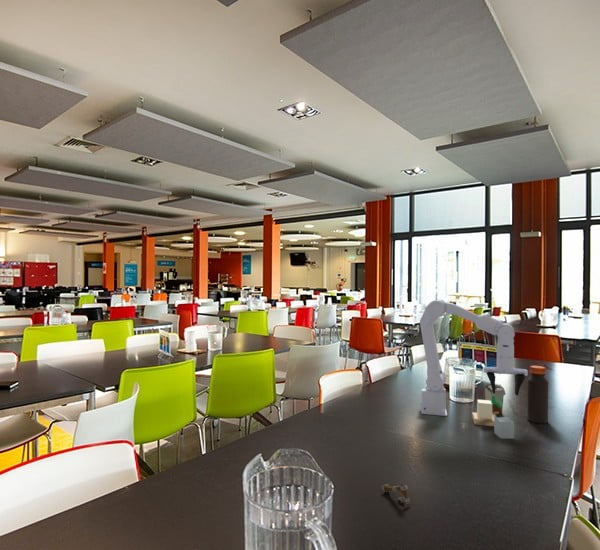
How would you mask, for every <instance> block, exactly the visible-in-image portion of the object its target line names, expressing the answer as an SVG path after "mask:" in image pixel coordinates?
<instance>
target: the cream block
mask: <svg viewBox="0 0 600 550" xmlns="http://www.w3.org/2000/svg"><path fill="white" fill-rule="evenodd" d="M476 413H477V415H478V417H479V418H484V419H492V403H491V401H490V400H485V399H476Z"/></svg>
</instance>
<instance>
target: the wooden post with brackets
mask: <svg viewBox="0 0 600 550" xmlns="http://www.w3.org/2000/svg"><path fill="white" fill-rule="evenodd" d="M381 489H382V492H383V491H384V492H389V491H390V492H401V494H402V495H403V496H402V497H400V496H399V497H397V500H398V499H399V500H400V501H401V502H400V503H402V502H403V503H406V506H410V505H411V502H410V498H409V496H408V492H407V490H408V489H409V488H408V486H407V484H405V483H401V484H400V485H397V486H390V485H389V484H384V485H381ZM390 492H389V493H390ZM404 501H405V502H404Z"/></svg>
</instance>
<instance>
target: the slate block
mask: <svg viewBox="0 0 600 550" xmlns="http://www.w3.org/2000/svg"><path fill="white" fill-rule="evenodd" d="M493 427H494V428H493V431H494V433H493V434H495V436H497V437H498V438H499V439H512V440H513V439H515V421H514V420H512V419H511V418H509V417H508V416H507V417H505V416H504V417H503V416H502V417H501V416H500V417H499V416H496V417H494V426H493Z"/></svg>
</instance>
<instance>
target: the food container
mask: <svg viewBox="0 0 600 550" xmlns="http://www.w3.org/2000/svg"><path fill="white" fill-rule="evenodd" d="M505 395H506V389H505V388H504V387H503V386H502V385H500V384H499V385H498V384H495V393H493V392H492V387H491V384H490V383H487V382H485V383H484V400H490V401H491V403H492V414H495V415H496V417H499V416H500V417H501V416H502V414H503V405H504V396H505Z"/></svg>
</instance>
